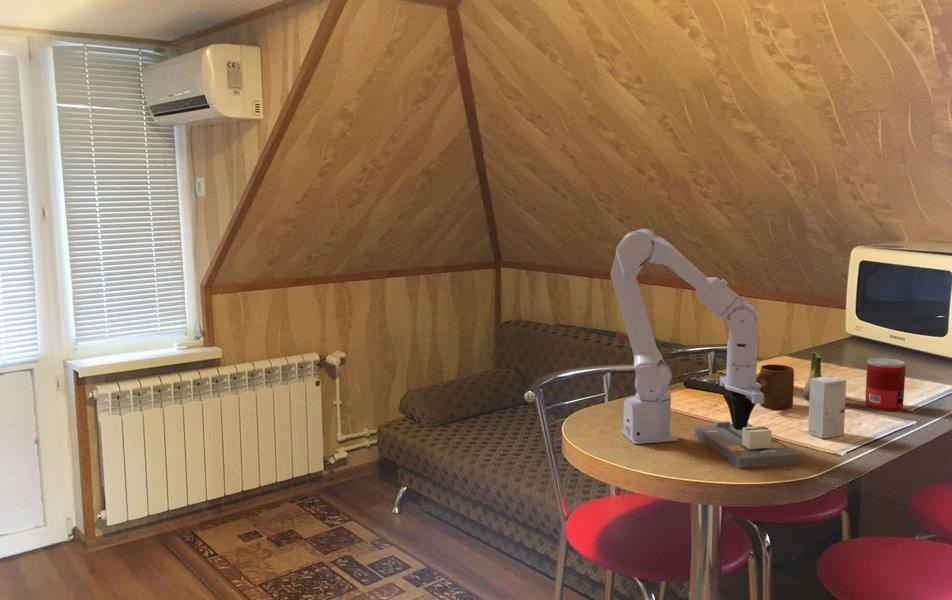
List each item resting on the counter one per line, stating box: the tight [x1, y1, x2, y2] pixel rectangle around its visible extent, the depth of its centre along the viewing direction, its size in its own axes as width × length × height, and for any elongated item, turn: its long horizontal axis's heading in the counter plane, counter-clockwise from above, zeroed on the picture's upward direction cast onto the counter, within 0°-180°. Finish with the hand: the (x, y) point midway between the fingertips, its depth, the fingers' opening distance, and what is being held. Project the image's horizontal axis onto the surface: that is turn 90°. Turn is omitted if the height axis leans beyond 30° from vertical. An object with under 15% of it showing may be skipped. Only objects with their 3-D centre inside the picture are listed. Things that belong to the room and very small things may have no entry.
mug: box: [756, 363, 795, 411], centre depth 186 cm, size 12×8×9 cm, turn 124°
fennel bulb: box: [802, 351, 822, 402], centre depth 191 cm, size 6×5×12 cm
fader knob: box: [742, 425, 772, 449], centre depth 153 cm, size 4×3×4 cm
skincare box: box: [807, 375, 847, 439], centre depth 166 cm, size 6×4×12 cm
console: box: [694, 420, 800, 470], centre depth 159 cm, size 12×20×3 cm, turn 9°
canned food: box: [864, 357, 907, 412], centre depth 185 cm, size 8×8×11 cm
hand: (739, 428), depth 160 cm, fingers closed
